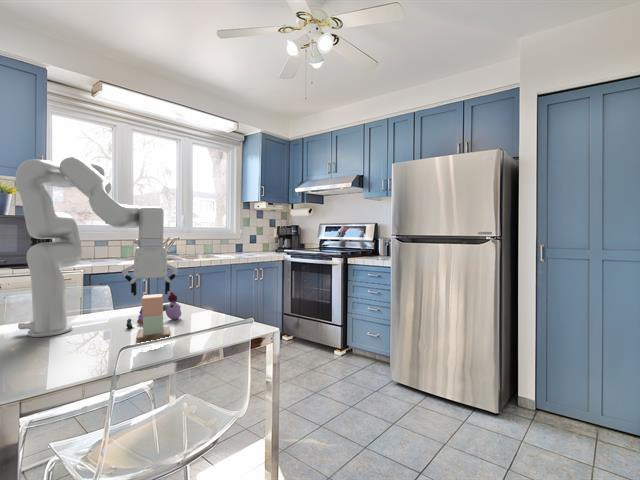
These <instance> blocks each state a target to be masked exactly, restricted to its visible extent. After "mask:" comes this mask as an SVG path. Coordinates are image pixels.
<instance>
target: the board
mask: <svg viewBox="0 0 640 480" xmlns="http://www.w3.org/2000/svg"><path fill="white" fill-rule="evenodd" d="M169 336H170V337H171V327H170V326H163V333H159V334H150V335H143V328H141V329H138V330H137V333H136V337H135V342H136V343H143V342H150V340H152V341H157V340H156V339H160V338H165V337H169Z"/></svg>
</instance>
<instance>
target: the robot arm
mask: <svg viewBox="0 0 640 480" xmlns="http://www.w3.org/2000/svg"><path fill="white" fill-rule="evenodd" d="M15 171H16V172H15V177H14V178H15V184H16V185H15V186H16V188H17V191H18V194H19V196H20V199H21V203H22V210H23V215H24V220H25V221H24V222H25V225H26V230H27V233H28V235H29V236H30V237H32V238H33V239H39V240H49V239H54V241H49V242H39V243H37V244H34V245H32V246H31V247H29V249H28V251H27V252H26V261H27V265H28V270H29V274H30V275H29V276H30V283H31V284H30V285H31V286H30V287H31V304H32V308H31V310H32V320H31V321H29V322H18V326H17V328H18V330H26V329H27V330H28V331H27V336H28V337H32V338H33V337H34V338H40V337H42V338H43V337H50V336H56V335H61V334H65V333H68V332H69V331H71V330H72V329H73V326H72V325H71V324H69V323H68V321H67V296H66V294H67V293H66V280H65V277H64V275H63V273H62V271H61V270H60V269H64V268H69V267H74V266H76V265H78V264H80V262H81V260H82V257H83V249H82V243H81V239H80V232H79V227H78V224H77V222H76V219H74V217H73V216H72V215H70V214H68V213H65V212H56V211H55V207H54V202H53V199H52V197H51V195H50V193H49V191H48V190H47V189H46V188H45V186H51V187H57V188H58V187H59V188H76V189H77V190H79V191H80V193H82V194H83V195H84V196H86V197H87V198H88V203H89V206H90V208H91V210H92V212H94V213H95V214H94V215H96V216H98V218H100V219H101V220H102V221H103V222H105V223H106V224H108V225H109V226H111V227H113V228H117V229H118V228H119V229H121V228H122V229H123V228H125V229H126V228H129V229H131V228H133V229H134V228H135V229H137V228H138V238H137V239H133V245H137V246H136V247H135V252H134V258H133V264H131V265H129V266H128V267H126V268H124V269H122V270H121V273H122V275H123V277H124V278H125V279H126V281H128V282H129V283H130V291H131V292H130V293H131V294H132V295H133V296H137V284H138V283H137V280H138V279H159V278H163V279H164V285H165V286H164V288H165V289H164V294H165V295H168V292H170V291H171V290H170V289H171V288H170V287H171V282H172V280H174V279H175V277H176V276H177V275H178V272H179V269H180V268H178V267H176V266H173V265H171V264H169V263H168V253H167V248H166V247H164V212H165V211H164V209H163V208H162V207H160V206H154V205H153V206H152V205H151V206H148V205H147V206H146V205H145V206H138V205H129V204H121V203H119V202H117V201H116V200H115V199H113V197H111V196H110V195H109V194H110V192H111V190H112V183H111V182H110V181H109V180H108V179H106V177H105V175H106V174H105V169H104V168H103V166H102V165H101V164H99V163H98V162H96V161H94V160H90V159H87V158H81V157H77V156H68V157H66V158H64V159H62V161H61V162H56V161H51V160H46V159H41V158H40V159H39V158H34V159H32V158H31V159H27V160H25V161H23V162H22V163H20V165H19V166H18V167H17V170H15ZM168 269H169V270H170V271H173V272H172V274H171V275H169V276H168ZM132 270H133V277H132V276H131V275H130V274H129V272H130V271H132Z"/></svg>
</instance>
